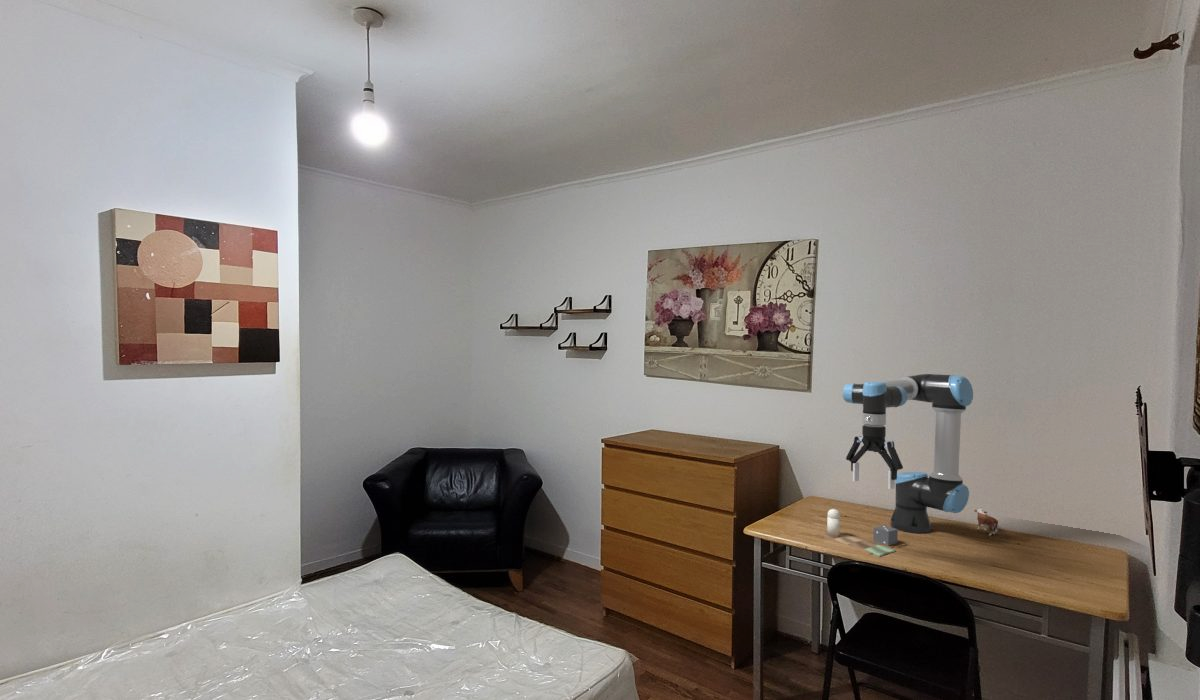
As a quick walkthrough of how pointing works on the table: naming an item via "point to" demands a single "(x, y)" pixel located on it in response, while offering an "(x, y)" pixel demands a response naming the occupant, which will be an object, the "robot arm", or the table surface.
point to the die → (885, 535)
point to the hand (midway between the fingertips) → (873, 484)
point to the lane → (861, 544)
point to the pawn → (833, 523)
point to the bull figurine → (986, 521)
